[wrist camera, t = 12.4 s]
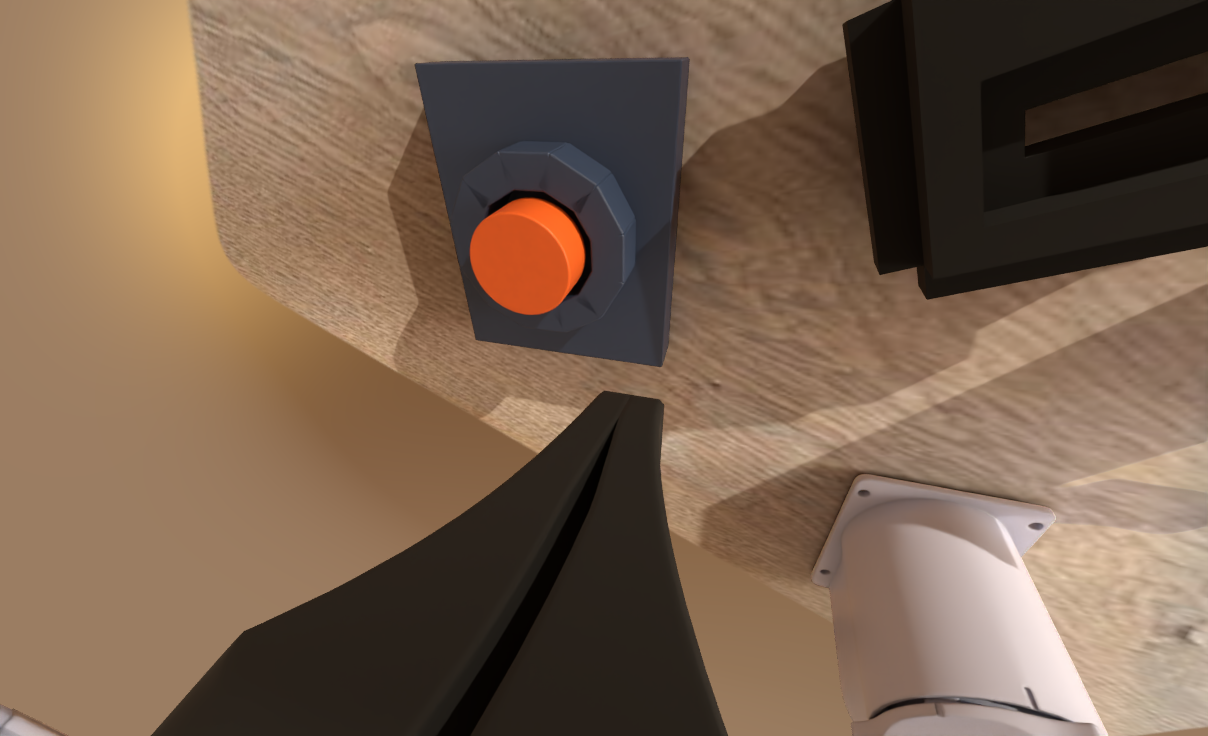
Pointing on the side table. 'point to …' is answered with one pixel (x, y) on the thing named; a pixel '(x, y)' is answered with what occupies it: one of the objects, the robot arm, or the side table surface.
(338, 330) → the side table surface
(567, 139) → the button box
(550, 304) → the button
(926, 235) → the tool
